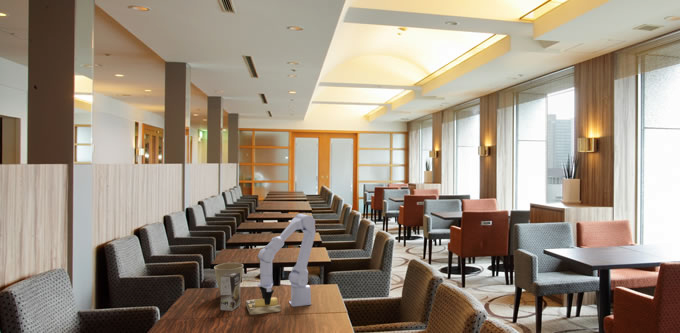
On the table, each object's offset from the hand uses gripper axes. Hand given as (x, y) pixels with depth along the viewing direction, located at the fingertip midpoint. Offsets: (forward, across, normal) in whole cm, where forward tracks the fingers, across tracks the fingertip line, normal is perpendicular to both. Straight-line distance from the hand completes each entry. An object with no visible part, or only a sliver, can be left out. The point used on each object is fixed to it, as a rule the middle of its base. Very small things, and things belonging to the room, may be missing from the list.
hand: (266, 303), depth 213 cm
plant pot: (+4, -29, -14) cm, 33 cm away
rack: (+3, -3, 0) cm, 5 cm away
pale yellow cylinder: (0, 0, 0) cm, 0 cm away
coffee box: (+4, -10, -16) cm, 19 cm away
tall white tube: (+2, -6, 0) cm, 6 cm away
